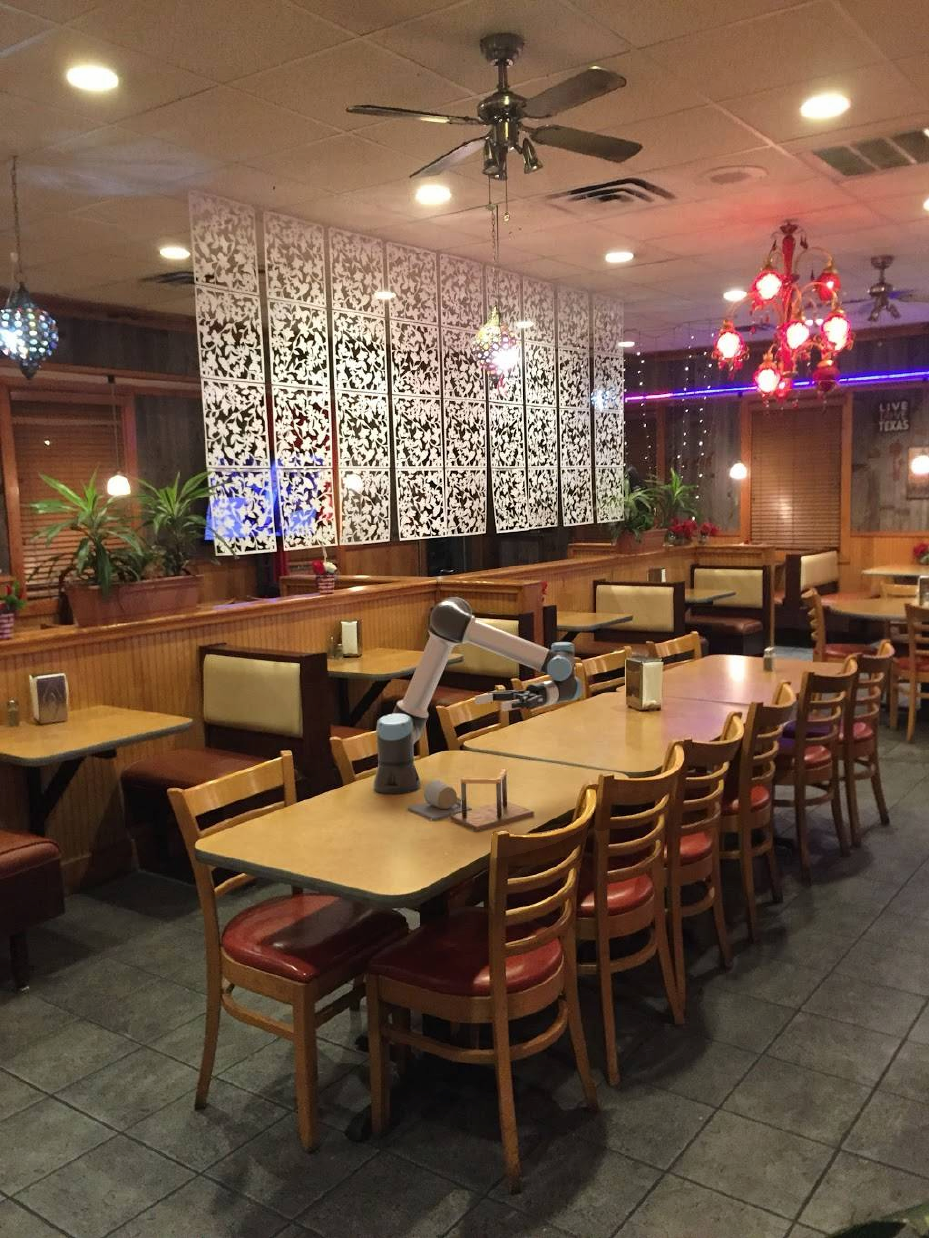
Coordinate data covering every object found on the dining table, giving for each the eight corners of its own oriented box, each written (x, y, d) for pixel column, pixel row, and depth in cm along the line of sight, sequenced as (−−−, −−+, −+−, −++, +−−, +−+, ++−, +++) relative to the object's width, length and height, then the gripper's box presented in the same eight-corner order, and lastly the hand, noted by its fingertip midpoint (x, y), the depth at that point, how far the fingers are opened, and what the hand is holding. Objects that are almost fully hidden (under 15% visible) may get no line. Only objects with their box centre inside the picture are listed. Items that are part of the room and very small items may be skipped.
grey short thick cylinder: (439, 812, 296) (439, 787, 295) (423, 806, 302) (422, 781, 301) (467, 805, 302) (467, 781, 301) (451, 799, 309) (450, 775, 308)
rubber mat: (407, 809, 302) (407, 807, 302) (445, 800, 311) (445, 797, 310) (433, 820, 291) (433, 818, 291) (471, 810, 299) (471, 808, 299)
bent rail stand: (450, 820, 291) (448, 777, 289) (506, 805, 303) (505, 764, 302) (476, 831, 281) (475, 787, 279) (533, 816, 293) (533, 773, 291)
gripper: (567, 711, 311) (514, 722, 299) (517, 699, 331) (465, 709, 319) (566, 688, 310) (513, 697, 298) (516, 677, 330) (464, 686, 318)
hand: (488, 703), depth 309 cm, fingers open, 13 cm apart
